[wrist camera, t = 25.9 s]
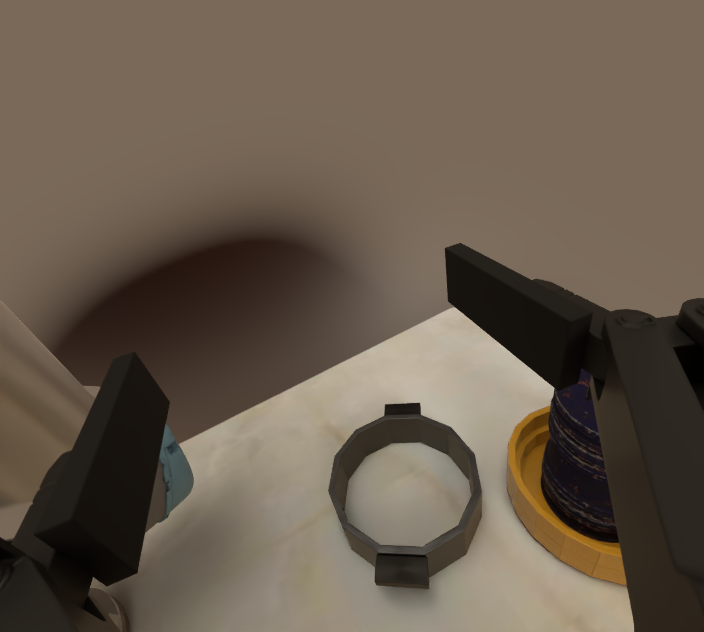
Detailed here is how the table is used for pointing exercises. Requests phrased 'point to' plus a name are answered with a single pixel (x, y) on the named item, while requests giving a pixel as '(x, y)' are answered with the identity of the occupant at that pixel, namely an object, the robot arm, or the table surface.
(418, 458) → the table surface
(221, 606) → the table surface
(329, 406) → the table surface
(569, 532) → the bowl
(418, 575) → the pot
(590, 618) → the table surface
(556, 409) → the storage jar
